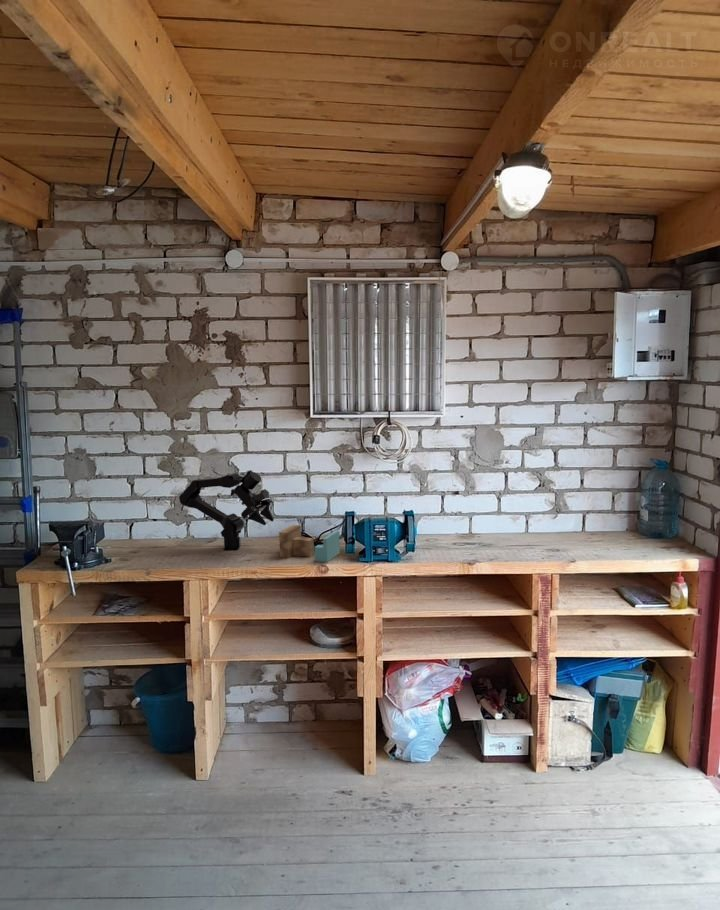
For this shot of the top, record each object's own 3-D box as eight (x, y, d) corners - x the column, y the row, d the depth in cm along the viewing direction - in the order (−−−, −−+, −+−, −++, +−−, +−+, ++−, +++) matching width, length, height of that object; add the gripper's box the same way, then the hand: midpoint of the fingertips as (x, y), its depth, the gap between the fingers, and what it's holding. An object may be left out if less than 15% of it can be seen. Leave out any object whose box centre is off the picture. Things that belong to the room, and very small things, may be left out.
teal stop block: (314, 561, 264) (314, 537, 263) (328, 551, 277) (327, 529, 276) (327, 562, 262) (326, 538, 261) (339, 552, 276) (339, 530, 274)
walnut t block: (280, 557, 270) (279, 532, 269) (293, 549, 283) (292, 525, 281) (305, 559, 266) (304, 534, 265) (318, 551, 278) (317, 526, 277)
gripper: (246, 488, 268) (270, 515, 266) (267, 480, 286) (290, 506, 284) (231, 505, 272) (254, 532, 270) (252, 496, 289) (274, 522, 287)
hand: (269, 522), depth 278 cm, fingers open, 7 cm apart
